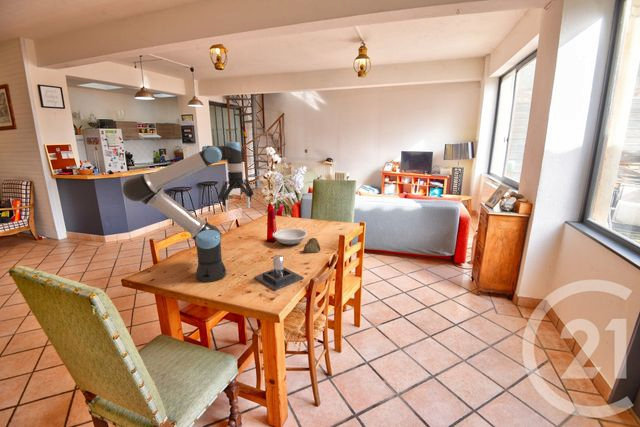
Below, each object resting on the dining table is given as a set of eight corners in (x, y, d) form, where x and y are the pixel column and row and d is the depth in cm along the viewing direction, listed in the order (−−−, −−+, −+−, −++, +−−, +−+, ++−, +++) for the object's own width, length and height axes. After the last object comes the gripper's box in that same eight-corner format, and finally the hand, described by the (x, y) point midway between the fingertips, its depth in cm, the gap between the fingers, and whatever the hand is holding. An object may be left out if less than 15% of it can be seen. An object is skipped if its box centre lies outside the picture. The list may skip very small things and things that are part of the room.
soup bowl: (266, 246, 202) (265, 236, 200) (283, 235, 224) (282, 226, 222) (298, 251, 193) (298, 241, 192) (312, 239, 215) (312, 230, 213)
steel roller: (277, 279, 152) (276, 259, 149) (272, 276, 156) (271, 256, 153) (285, 276, 155) (285, 256, 153) (280, 273, 159) (279, 254, 156)
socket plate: (274, 290, 143) (274, 285, 143) (254, 278, 156) (254, 272, 155) (303, 279, 155) (303, 273, 155) (282, 268, 168) (282, 263, 167)
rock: (298, 249, 189) (312, 250, 184) (302, 236, 193) (315, 237, 187) (307, 254, 198) (320, 256, 193) (310, 242, 201) (323, 243, 196)
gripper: (251, 169, 173) (253, 205, 179) (209, 172, 157) (212, 211, 162) (258, 170, 168) (260, 207, 173) (216, 173, 151) (219, 214, 157)
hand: (237, 209), depth 168 cm, fingers open, 13 cm apart
